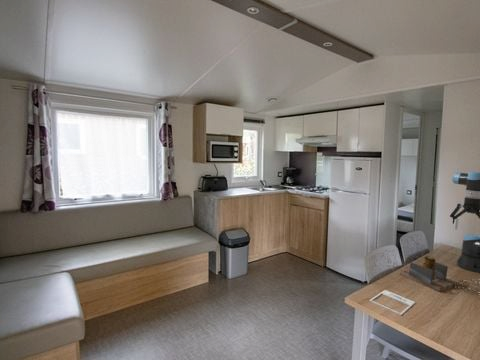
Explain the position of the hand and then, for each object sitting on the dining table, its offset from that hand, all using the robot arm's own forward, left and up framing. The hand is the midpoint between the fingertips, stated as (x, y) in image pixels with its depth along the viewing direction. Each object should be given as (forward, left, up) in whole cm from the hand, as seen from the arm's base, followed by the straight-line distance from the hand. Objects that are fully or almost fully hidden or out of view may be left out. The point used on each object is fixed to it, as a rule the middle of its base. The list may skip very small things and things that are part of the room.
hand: (468, 232), depth 160 cm
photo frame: (+65, -2, -31) cm, 72 cm away
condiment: (+21, -8, -29) cm, 36 cm away
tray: (+21, -9, -30) cm, 38 cm away
